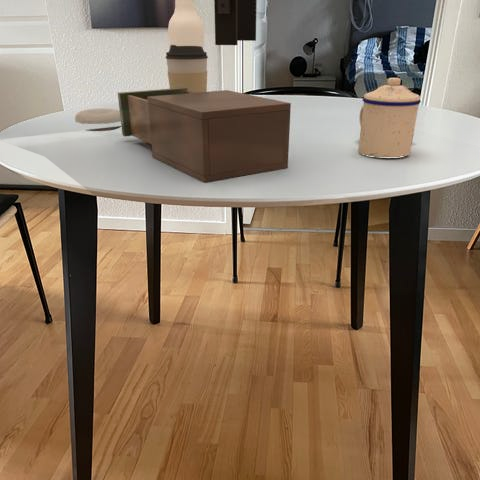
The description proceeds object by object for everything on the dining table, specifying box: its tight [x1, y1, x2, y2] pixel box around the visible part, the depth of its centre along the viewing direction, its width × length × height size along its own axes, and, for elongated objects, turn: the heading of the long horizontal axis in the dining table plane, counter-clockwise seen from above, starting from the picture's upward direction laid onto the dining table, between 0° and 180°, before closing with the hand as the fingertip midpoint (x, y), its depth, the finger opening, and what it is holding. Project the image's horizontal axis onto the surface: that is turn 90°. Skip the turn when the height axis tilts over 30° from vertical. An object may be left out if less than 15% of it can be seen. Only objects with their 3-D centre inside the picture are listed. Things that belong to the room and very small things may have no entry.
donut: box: [74, 108, 122, 132], centre depth 104 cm, size 10×4×10 cm
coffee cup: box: [165, 45, 209, 93], centre depth 108 cm, size 9×9×15 cm
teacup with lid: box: [357, 77, 422, 157], centre depth 83 cm, size 12×9×12 cm
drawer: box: [117, 88, 195, 145], centre depth 89 cm, size 18×14×7 cm
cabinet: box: [147, 89, 292, 183], centre depth 78 cm, size 18×15×9 cm
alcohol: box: [167, 0, 205, 51], centre depth 125 cm, size 9×9×30 cm
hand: (237, 43), depth 69 cm, fingers open, 13 cm apart
